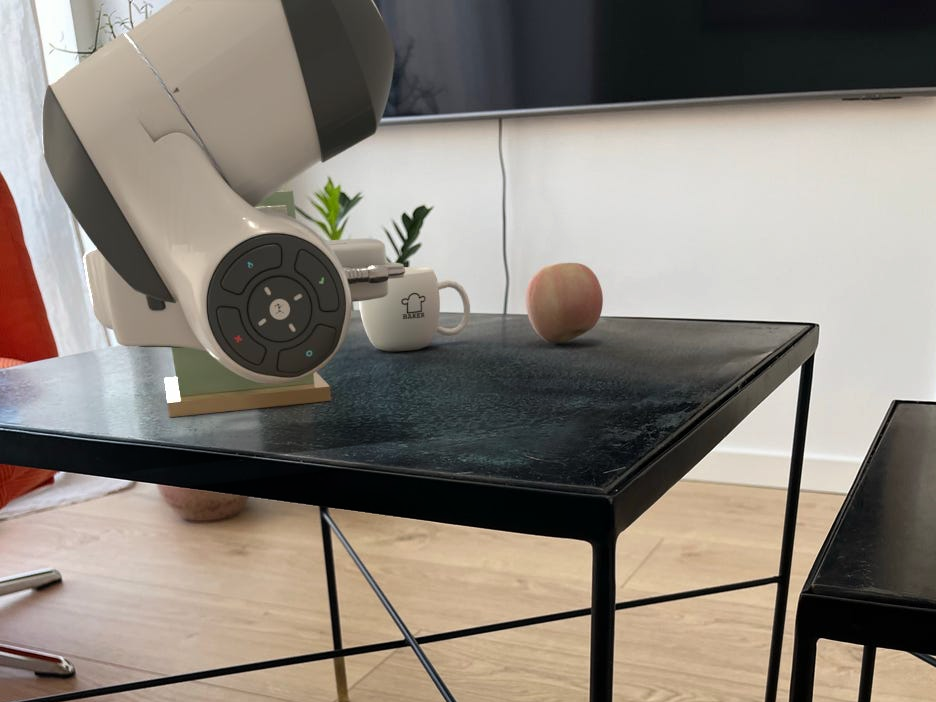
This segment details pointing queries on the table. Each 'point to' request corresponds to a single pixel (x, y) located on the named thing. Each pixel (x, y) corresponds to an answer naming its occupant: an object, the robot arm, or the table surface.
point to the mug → (409, 312)
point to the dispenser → (222, 390)
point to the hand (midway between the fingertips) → (233, 268)
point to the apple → (564, 301)
